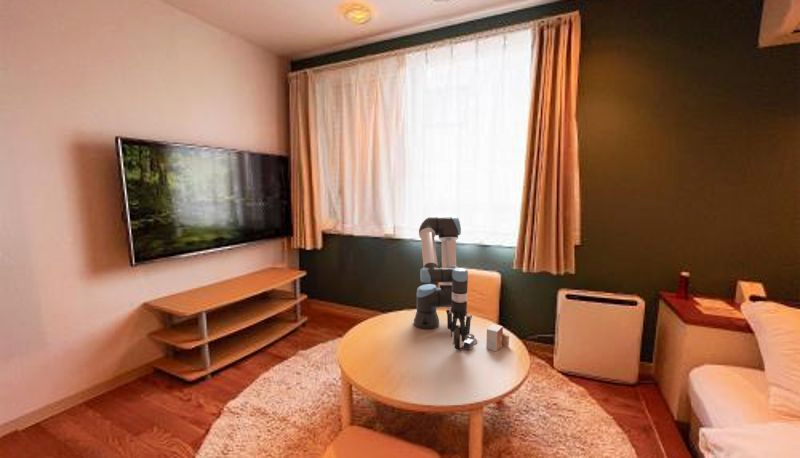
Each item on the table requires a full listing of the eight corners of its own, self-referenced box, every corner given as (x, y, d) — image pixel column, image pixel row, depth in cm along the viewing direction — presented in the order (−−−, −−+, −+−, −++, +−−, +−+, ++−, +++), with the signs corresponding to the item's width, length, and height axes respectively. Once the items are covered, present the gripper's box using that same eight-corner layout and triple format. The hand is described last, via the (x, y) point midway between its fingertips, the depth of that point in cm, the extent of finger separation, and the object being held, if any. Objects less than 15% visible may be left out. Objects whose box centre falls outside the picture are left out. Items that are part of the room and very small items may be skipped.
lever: (467, 336, 178) (467, 315, 176) (479, 340, 173) (480, 318, 171) (451, 350, 164) (452, 326, 162) (464, 354, 160) (465, 330, 158)
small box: (496, 351, 163) (497, 332, 162) (486, 348, 167) (486, 329, 165) (502, 345, 170) (503, 326, 168) (492, 342, 173) (492, 323, 171)
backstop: (494, 341, 174) (494, 330, 173) (496, 340, 175) (496, 329, 174) (506, 347, 167) (507, 336, 167) (508, 346, 168) (509, 335, 167)
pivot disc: (458, 340, 175) (458, 339, 175) (469, 336, 180) (469, 335, 180) (469, 346, 169) (469, 345, 169) (480, 342, 173) (480, 341, 173)
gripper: (440, 298, 162) (439, 342, 166) (470, 306, 152) (469, 353, 155) (448, 294, 168) (447, 337, 172) (478, 302, 157) (476, 347, 161)
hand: (457, 344), depth 163 cm, fingers closed on lever, 4 cm apart
